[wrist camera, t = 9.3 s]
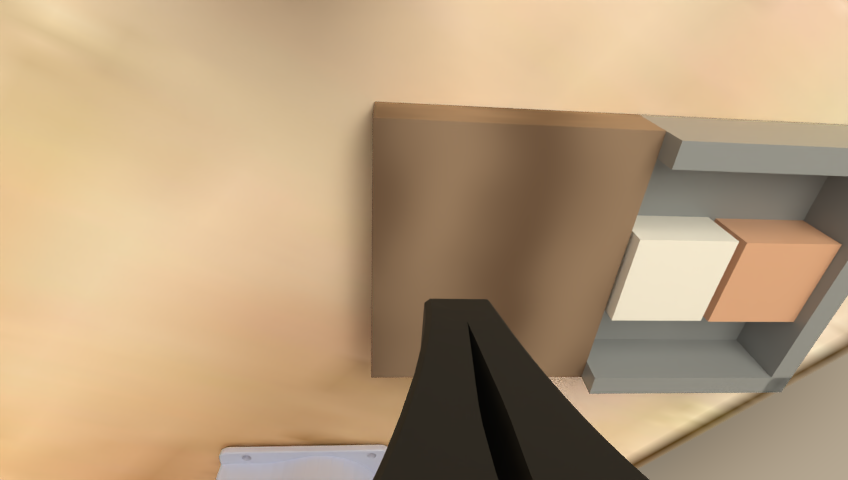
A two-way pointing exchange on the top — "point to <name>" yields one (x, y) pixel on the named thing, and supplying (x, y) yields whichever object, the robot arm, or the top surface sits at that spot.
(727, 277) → the terracotta tile
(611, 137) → the walnut board
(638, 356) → the tray
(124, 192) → the top surface
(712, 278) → the ivory tile
